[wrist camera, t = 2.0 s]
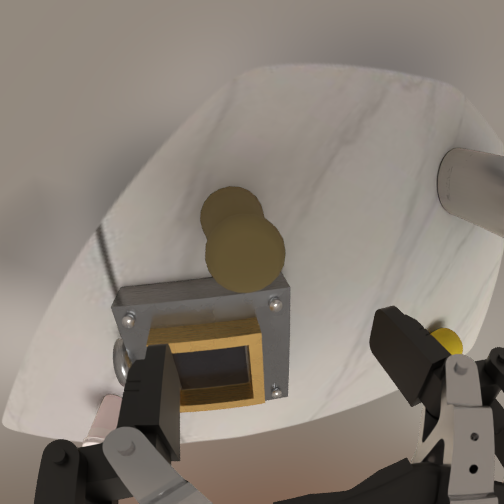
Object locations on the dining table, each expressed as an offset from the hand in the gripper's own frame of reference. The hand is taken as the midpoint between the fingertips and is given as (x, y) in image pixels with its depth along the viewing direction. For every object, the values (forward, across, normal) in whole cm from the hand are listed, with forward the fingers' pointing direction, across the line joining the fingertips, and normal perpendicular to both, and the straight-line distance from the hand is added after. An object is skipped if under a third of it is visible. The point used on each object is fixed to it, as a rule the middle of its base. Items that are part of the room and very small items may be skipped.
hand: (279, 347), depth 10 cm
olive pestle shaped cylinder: (+19, 0, 0) cm, 19 cm away
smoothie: (+19, +20, +25) cm, 37 cm away
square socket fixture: (+18, +4, +14) cm, 23 cm away
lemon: (+18, -31, +22) cm, 42 cm away
